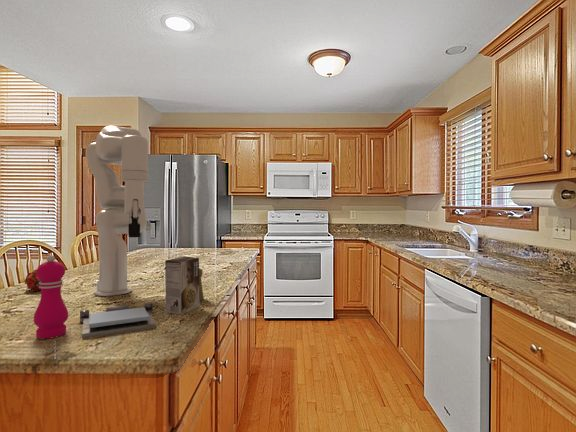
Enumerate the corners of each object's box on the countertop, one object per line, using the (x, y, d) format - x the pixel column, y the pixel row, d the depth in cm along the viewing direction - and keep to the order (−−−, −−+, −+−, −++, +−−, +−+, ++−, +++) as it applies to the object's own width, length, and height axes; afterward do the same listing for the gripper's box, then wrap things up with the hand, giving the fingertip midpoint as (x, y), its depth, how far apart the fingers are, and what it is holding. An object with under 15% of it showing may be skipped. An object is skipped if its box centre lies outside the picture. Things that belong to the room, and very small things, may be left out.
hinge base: (80, 320, 99) (80, 309, 99) (151, 311, 108) (151, 301, 108) (77, 339, 85) (77, 327, 85) (159, 327, 94) (159, 316, 94)
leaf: (90, 315, 100) (90, 308, 100) (143, 309, 107) (143, 302, 107) (89, 329, 87) (89, 321, 87) (149, 320, 94) (149, 313, 94)
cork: (199, 302, 119) (199, 270, 119) (182, 301, 120) (182, 269, 120) (206, 297, 125) (206, 267, 125) (191, 297, 126) (191, 266, 126)
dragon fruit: (42, 290, 143) (40, 300, 133) (20, 280, 138) (17, 290, 128) (56, 272, 145) (55, 282, 135) (35, 262, 140) (33, 271, 130)
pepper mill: (45, 330, 91) (44, 253, 91) (74, 329, 92) (73, 253, 92) (26, 340, 84) (25, 257, 84) (58, 339, 85) (57, 257, 84)
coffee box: (184, 304, 116) (183, 256, 115) (200, 307, 113) (200, 257, 113) (164, 312, 107) (164, 259, 107) (181, 314, 105) (181, 261, 105)
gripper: (120, 177, 112) (120, 234, 113) (121, 175, 99) (121, 240, 100) (145, 178, 115) (145, 234, 116) (150, 176, 102) (149, 239, 103)
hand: (134, 236), depth 108 cm, fingers closed
